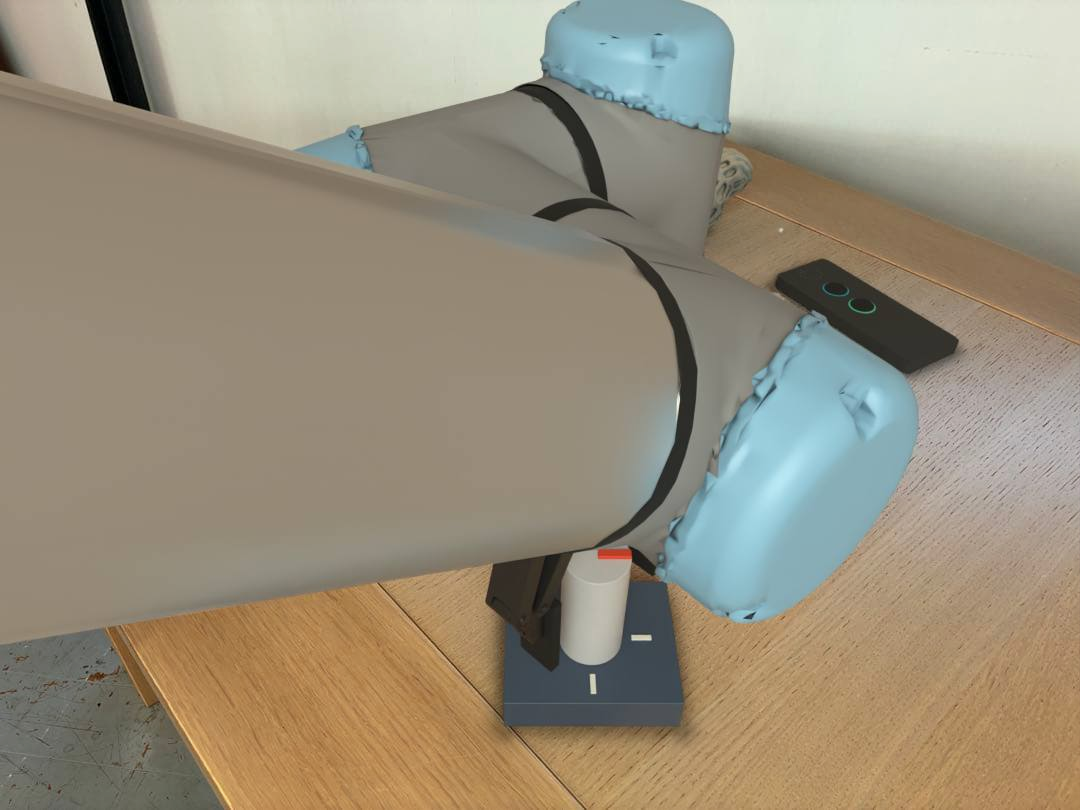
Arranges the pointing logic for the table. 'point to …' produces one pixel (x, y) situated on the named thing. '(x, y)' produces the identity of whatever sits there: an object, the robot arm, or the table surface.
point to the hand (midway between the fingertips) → (592, 606)
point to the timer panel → (602, 674)
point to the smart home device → (867, 315)
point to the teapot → (730, 180)
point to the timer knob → (594, 604)
